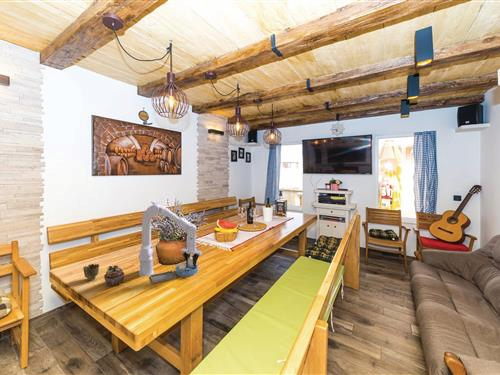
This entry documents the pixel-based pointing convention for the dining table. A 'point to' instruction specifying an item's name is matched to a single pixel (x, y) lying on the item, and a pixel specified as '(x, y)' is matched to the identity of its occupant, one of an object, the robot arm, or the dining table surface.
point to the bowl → (186, 273)
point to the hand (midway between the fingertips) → (191, 264)
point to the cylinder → (190, 262)
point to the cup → (91, 271)
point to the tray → (162, 277)
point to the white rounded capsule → (182, 266)
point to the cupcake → (113, 276)
